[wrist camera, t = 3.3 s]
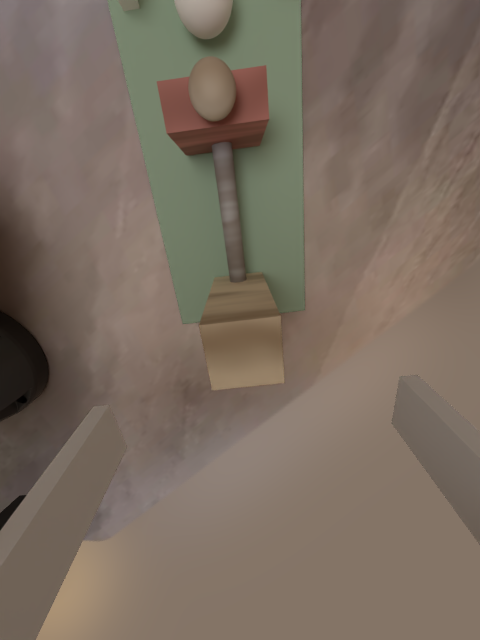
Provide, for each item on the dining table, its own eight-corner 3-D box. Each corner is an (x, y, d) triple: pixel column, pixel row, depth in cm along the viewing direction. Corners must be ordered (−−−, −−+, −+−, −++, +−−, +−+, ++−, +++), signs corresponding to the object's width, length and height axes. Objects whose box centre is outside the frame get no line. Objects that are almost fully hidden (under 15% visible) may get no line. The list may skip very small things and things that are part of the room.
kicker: (271, 314, 28) (294, 381, 17) (215, 321, 28) (202, 391, 17) (256, 109, 20) (281, -10, 9) (180, 120, 21) (117, 16, 10)
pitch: (304, 309, 28) (304, 310, 28) (183, 323, 29) (182, 324, 28) (297, -162, 15) (298, -169, 15) (80, -124, 16) (77, -129, 16)
